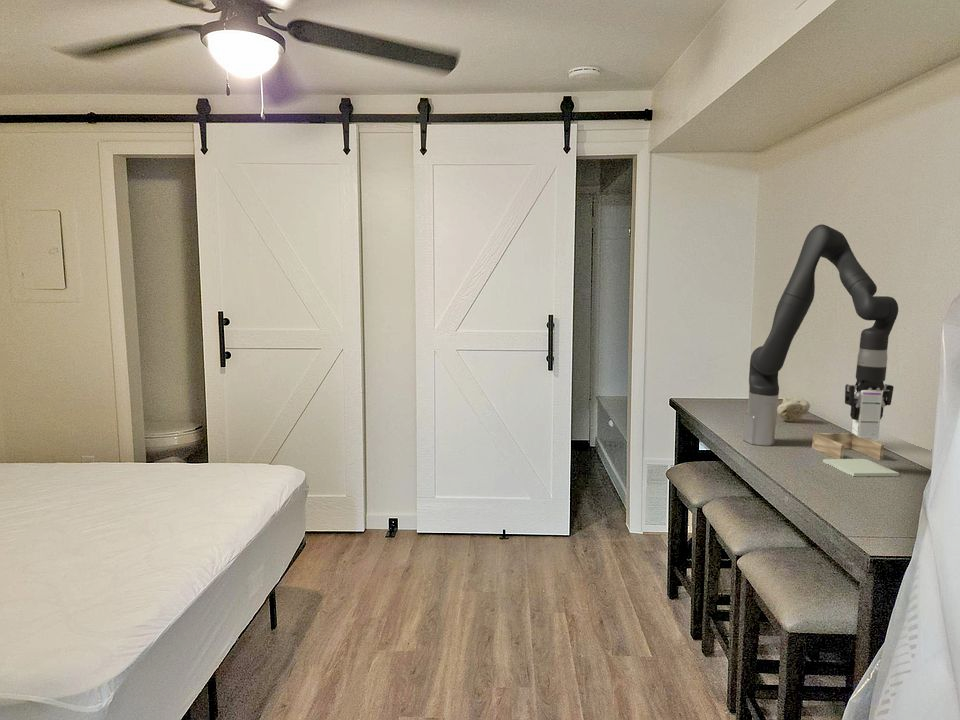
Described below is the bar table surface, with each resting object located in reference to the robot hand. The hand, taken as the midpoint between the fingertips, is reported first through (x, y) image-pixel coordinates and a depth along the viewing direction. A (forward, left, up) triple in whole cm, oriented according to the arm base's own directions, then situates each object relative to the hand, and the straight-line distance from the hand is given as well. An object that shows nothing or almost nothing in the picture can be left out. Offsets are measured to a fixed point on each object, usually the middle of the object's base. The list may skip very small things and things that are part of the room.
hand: (866, 419), depth 190 cm
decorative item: (+14, +60, -16) cm, 63 cm away
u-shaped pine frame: (+6, +16, -15) cm, 23 cm away
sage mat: (-1, 0, -15) cm, 15 cm away
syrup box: (0, 0, -5) cm, 5 cm away
